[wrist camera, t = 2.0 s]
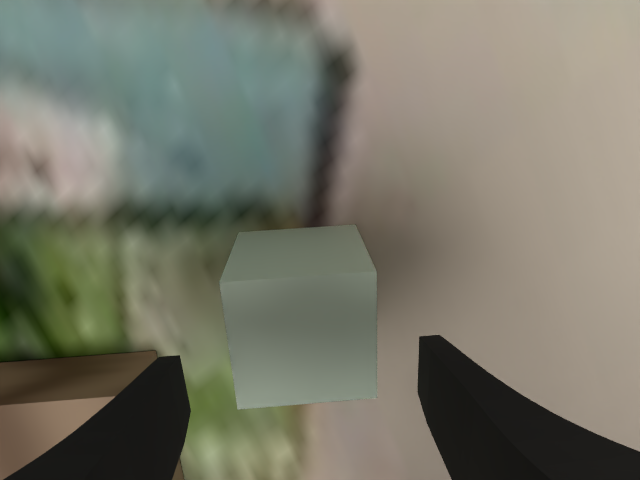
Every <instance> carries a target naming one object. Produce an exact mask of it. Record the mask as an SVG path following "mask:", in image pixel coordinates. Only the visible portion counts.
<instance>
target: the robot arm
mask: <svg viewBox="0 0 640 480" xmlns="http://www.w3.org/2000/svg"><path fill="white" fill-rule="evenodd" d="M418 395H419V398H420V402H421V405H422V409H423V412H424V415H425V418H426V421H427V424H428V427H429V429H430V431H431V434H432V436H433V438H434V440H435V443H436V445H437V447H438V450H439V452H440V454H441V456H442V459H443V461H444V463H445V465H446V468H447V470H448V472H449V474H450V477H451V479H452V480H640V452H639V451H637V450H634V449H631V448H629V447H626V446H624V445H621V444H619V443H616V442H614V441H611V440H609V439H607V438H604V437H602V436H600V435H597V434H595V433H593V432H591V431H589V430H587V429H584V428H582V427H580V426H578V425H576V424H574V423H572V422H570V421H568V420H566V419H564V418H562V417H560V416H558V415H556V414H554V413H552V412H550V411H549V410H547V409H545V408H543V407H542V406H540V405H538V404H536V403H534V402H533V401H531V400H529V399H528V398H526V397H524V396H523V395H521V394H519V393H518V392H516V391H515V390H513V389H512V388H510V387H509V386H507V385H506V384H504V383H503V382H501V381H500V380H498V379H497V378H495V377H494V376H493V375H491V374H490V373H488V372H487V371H486V370H484V369H483V368H482V367H480V366H479V365H478V364H476V363H475V362H474V361H472V360H471V359H470V358H468V357H467V356H466V355H465V354H463V353H462V352H461V351H460V350H458V349H457V348H456V347H454V346H453V345H452V344H451V343H449V342H448V341H447V340H446V339H444V338H443V337H442V336H440V335H432V336H420V337H419V366H418ZM190 412H191V409H190V404H189V399H188V394H187V389H186V384H185V379H184V374H183V369H182V364H181V359H180V355H178V356H165V357H158V358H157V359H156V360H155V361H154V362H153V363H151V364H150V365H149V366H148V367H147V368H146V369H145V370H144V371H143V372H142V373H141V374H140V375H138V376H137V377H136V378H135V379H134V380H133V381H132V382H131V383H130V384H129V385H128V386H127V387H125V388H124V389H123V390H122V391H121V392H120V393H119V394H118V395H117V396H115V397H114V398H113V399H112V400H111V401H110V402H109V403H108V404H106V405H105V406H104V407H103V408H102V409H100V410H99V411H98V412H97V413H96V414H94V415H93V416H92V417H91V418H90V419H88V420H87V421H86V422H85V423H84V424H82V425H81V426H80V427H79V428H78V429H76V430H75V431H74V432H72V433H71V434H70V435H68V436H67V437H66V438H64V439H63V440H62V441H60V442H59V443H58V444H56V445H55V446H53V447H52V448H51V449H49V450H48V451H46V452H45V453H44V454H42V455H41V456H39V457H38V458H36V459H35V460H33V461H32V462H30V463H29V464H27V465H25V466H24V467H22V468H21V469H19V470H17V471H16V472H14V473H13V474H11V475H10V476H8V477H6V478H5V479H3V480H172V478H173V476H174V473H175V470H176V467H177V464H178V461H179V458H180V455H181V452H182V449H183V446H184V442H185V437H186V433H187V428H188V423H189V417H190Z"/></svg>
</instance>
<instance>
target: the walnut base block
mask: <svg viewBox="0 0 640 480" xmlns="http://www.w3.org/2000/svg"><path fill="white" fill-rule="evenodd" d="M156 359H157V354H156V351H145V352H132V353H119V354H106V355H93V356H80V357H67V358H54V359H41V360H28V361H16V362H3V363H0V480H3V479H5V478H6V477H8V476H10V475H11V474H13V473H14V472H16V471H17V470H19V469H21V468H22V467H24V466H25V465H27V464H29V463H30V462H32V461H33V460H35V459H36V458H38V457H39V456H41V455H42V454H44V453H45V452H46V451H48V450H49V449H51V448H52V447H53V446H55V445H56V444H58V443H59V442H60V441H62V440H63V439H64V438H66V437H67V436H68V435H70V434H71V433H72V432H74V431H75V430H76V429H78V428H79V427H80V426H81V425H82V424H84V423H85V422H86V421H87V420H88V419H90V418H91V417H92V416H93V415H94V414H96V413H97V412H98V411H99V410H100V409H102V408H103V407H104V406H105V405H106V404H108V403H109V402H110V401H111V400H112V399H113V398H114V397H115V396H117V395H118V394H119V393H120V392H121V391H122V390H123V389H124V388H125V387H127V386H128V385H129V384H130V383H131V382H132V381H133V380H134V379H135V378H136V377H137V376H138V375H140V374H141V373H142V372H143V371H144V370H145V369H146V368H147V367H148V366H149V365H150V364H151V363H153V362H154V361H155V360H156ZM172 480H184V476H183V472H182V467H181V463H180V458H179V461H178V464H177V467H176V470H175V473H174V476H173V478H172Z"/></svg>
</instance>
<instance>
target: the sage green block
mask: <svg viewBox="0 0 640 480" xmlns="http://www.w3.org/2000/svg"><path fill="white" fill-rule="evenodd" d="M219 285H220V291H221V298H222V305H223V312H224V319H225V326H226V332H227V339H228V346H229V353H230V360H231V366H232V373H233V380H234V387H235V394H236V401H237V407H238V409H249V408H261V407H273V406H286V405H298V404H310V403H322V402H334V401H347V400H359V399H371V398H377V271H376V269H375V266H374V264H373V262H372V260H371V258H370V255H369V253H368V251H367V249H366V247H365V244H364V242H363V240H362V238H361V236H360V233H359V231H358V229H357V227H356V225H340V226H325V227H309V228H294V229H278V230H263V231H248V232H239V233H238V235H237V238H236V240H235V243H234V246H233V248H232V251H231V253H230V256H229V258H228V261H227V264H226V266H225V269H224V271H223V274H222V276H221V279H220V282H219Z"/></svg>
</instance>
